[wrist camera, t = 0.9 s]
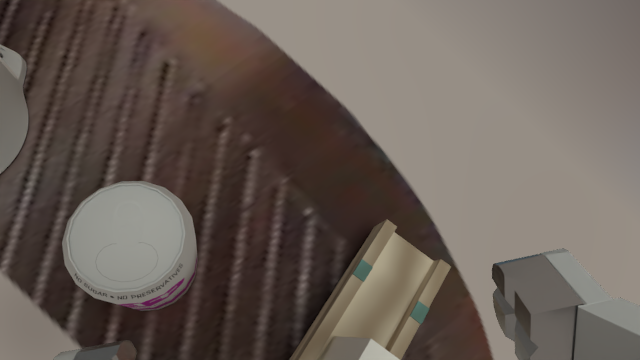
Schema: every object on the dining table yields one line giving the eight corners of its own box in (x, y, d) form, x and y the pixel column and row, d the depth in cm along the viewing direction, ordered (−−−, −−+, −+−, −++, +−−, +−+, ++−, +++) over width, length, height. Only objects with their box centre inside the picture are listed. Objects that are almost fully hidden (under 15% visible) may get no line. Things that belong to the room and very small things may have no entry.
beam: (274, 375, 43) (284, 382, 37) (367, 230, 49) (387, 218, 44) (340, 424, 43) (360, 438, 38) (425, 273, 49) (452, 266, 44)
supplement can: (198, 306, 43) (196, 296, 29) (101, 314, 41) (49, 307, 27) (197, 221, 45) (194, 173, 31) (106, 224, 43) (59, 175, 29)
